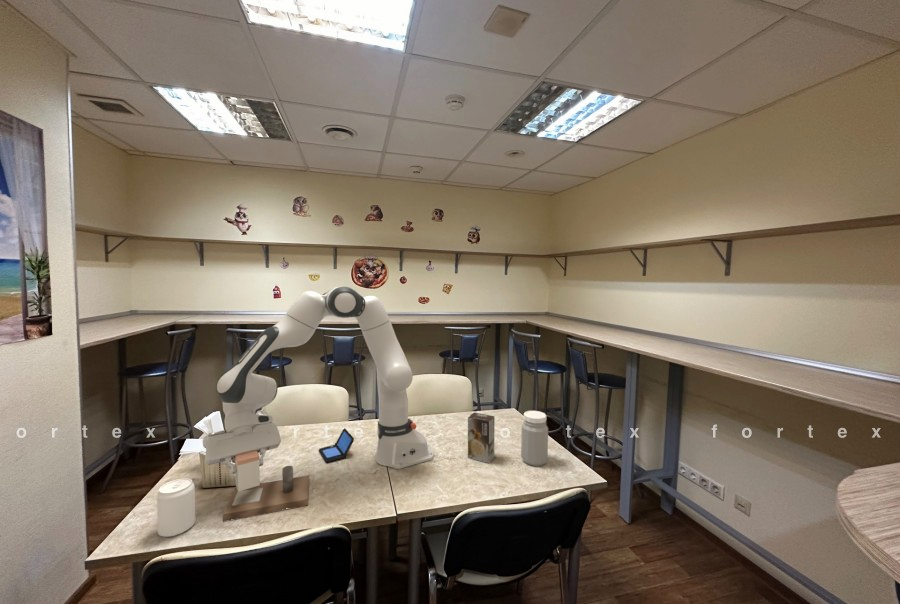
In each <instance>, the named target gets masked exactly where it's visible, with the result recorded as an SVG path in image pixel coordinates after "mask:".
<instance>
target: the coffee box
mask: <svg viewBox="0 0 900 604" xmlns="http://www.w3.org/2000/svg"><path fill="white" fill-rule="evenodd" d="M467 458H468V459H469V460H470V459H471V460H475V461H479V462H483V463H487V464H490V463H491V462H492V460H494V458H495V416H494V415H489V414H483V413H478V412H473V413H471V414H470V415H469V416H468V417H467Z"/></svg>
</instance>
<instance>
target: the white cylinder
mask: <svg viewBox="0 0 900 604" xmlns="http://www.w3.org/2000/svg"><path fill="white" fill-rule="evenodd" d="M195 489H196V487H195V483H194V481H193V480H192V478H188V477H185V478H178V479H173V480H171V481H168V482H166V483H163V485H161V486H160V487H159V489H158V492H157V493H156V515H157V516H156V519H157V521H156V522H157V533H158V535H159V536H160V537H174V536H177V534H178V535H180V534H182V533H185V532H186V531H188V530H189V529H190V528H192V527H193V525H195V523H196V494H195V491H196V490H195Z"/></svg>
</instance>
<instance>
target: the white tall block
mask: <svg viewBox="0 0 900 604" xmlns="http://www.w3.org/2000/svg"><path fill="white" fill-rule="evenodd" d="M259 459H260V453H257V451H256V450H254V451H250V452H246V453H242V454H238V455H235V459H234V465H236V466H237V473H234V482H235V486H236V487H237V490H238V492H239V491H242V490H246V489H249V488H252V487H255V486H259V485H260V483H261V482H260V479H261V478H260V476H261V474H260V466H259Z"/></svg>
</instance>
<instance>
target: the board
mask: <svg viewBox="0 0 900 604" xmlns="http://www.w3.org/2000/svg"><path fill="white" fill-rule="evenodd" d="M281 470H282V471H281V473H282V477H281V478H282V479H277V480H273V481H266V482H260V485H259V486H255V487H252V488H249V489H246V490H242V491H239V492H238V490H237V487H234V488H233V490H232V493H231V495H230V498H229V499H228V502H227V505H226V507H225V509H224V511H223V514H222V522H228V521H231V519H234V520H238V519H237V518H239V519H243V517H244V518H249V517H254V516H253V515H255V516H259V514H260V515H265V514H269V512H270V513H274V512H273V511H276V512H279V511H278V510H281V511H283V510H282V509H286V508H291V509H295V508H294V507H297V508H301V507H300V506H302V507H307V506H308V505H309V494H310V493H309V491H310V474H309V475H302V476H296V477H294V466H292V465H285V466H283V468H282V469H281ZM306 505H307V506H306ZM286 510H287V509H286ZM264 513H265V514H264ZM248 516H249V517H248ZM227 520H228V521H227Z"/></svg>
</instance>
